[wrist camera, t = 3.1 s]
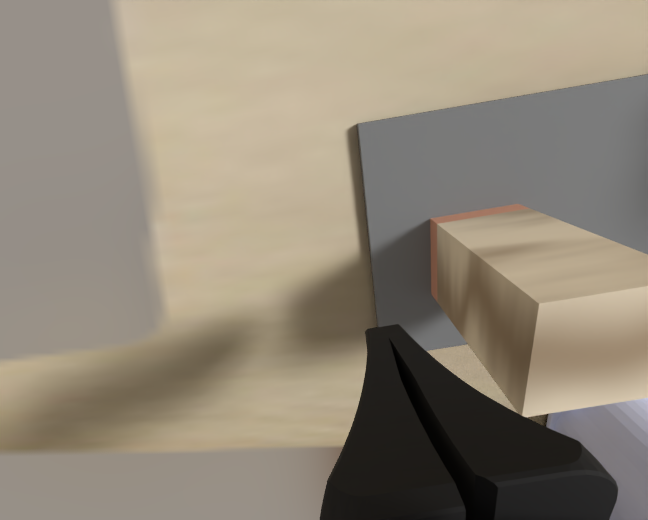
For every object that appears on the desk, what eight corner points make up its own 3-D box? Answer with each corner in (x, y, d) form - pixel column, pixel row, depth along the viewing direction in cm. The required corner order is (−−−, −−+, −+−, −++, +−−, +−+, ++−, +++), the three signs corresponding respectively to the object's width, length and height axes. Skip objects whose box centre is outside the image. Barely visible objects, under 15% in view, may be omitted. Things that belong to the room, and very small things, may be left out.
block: (510, 281, 20) (657, 396, 12) (431, 294, 20) (521, 418, 12) (518, 203, 18) (704, 276, 9) (430, 218, 18) (539, 303, 9)
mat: (634, 311, 22) (642, 315, 21) (380, 353, 22) (381, 358, 22) (711, 63, 16) (723, 61, 15) (356, 123, 16) (358, 123, 15)
